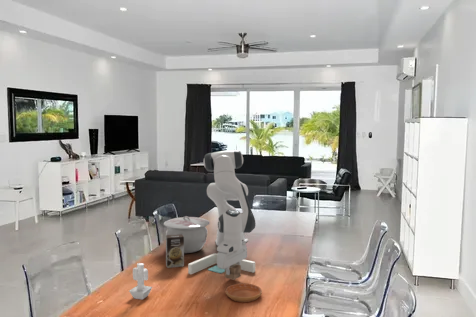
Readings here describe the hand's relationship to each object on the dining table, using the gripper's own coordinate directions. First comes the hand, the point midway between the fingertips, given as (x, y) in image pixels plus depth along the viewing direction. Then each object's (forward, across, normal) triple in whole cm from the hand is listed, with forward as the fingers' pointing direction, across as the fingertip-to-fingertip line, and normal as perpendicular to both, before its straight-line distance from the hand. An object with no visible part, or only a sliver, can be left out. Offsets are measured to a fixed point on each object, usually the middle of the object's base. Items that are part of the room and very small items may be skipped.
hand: (232, 272), depth 201 cm
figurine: (+4, +38, -22) cm, 44 cm away
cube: (+2, 0, 0) cm, 2 cm away
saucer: (+4, +12, +14) cm, 19 cm away
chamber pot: (+5, -24, -51) cm, 56 cm away
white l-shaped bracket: (+4, -6, -10) cm, 12 cm away
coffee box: (+5, 0, -38) cm, 38 cm away
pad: (+4, -8, -15) cm, 18 cm away
